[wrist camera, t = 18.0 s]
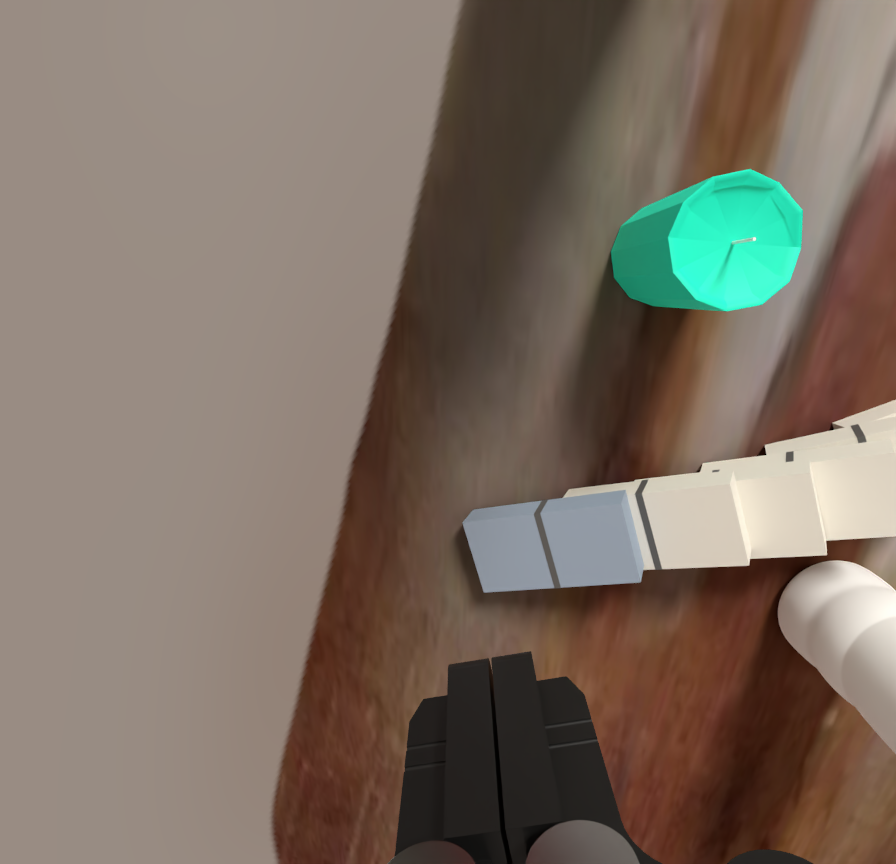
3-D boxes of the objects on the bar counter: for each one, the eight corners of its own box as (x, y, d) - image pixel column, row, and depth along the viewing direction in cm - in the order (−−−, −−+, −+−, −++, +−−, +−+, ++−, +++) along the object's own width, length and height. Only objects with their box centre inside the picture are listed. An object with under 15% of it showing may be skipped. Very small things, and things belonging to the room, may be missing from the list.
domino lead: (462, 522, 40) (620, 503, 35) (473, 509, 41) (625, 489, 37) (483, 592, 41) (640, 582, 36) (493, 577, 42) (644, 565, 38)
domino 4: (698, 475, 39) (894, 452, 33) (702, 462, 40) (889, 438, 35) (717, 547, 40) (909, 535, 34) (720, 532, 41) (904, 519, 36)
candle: (668, 325, 39) (762, 340, 27) (590, 269, 38) (652, 259, 26) (731, 241, 37) (858, 218, 26) (651, 181, 37) (745, 130, 25)
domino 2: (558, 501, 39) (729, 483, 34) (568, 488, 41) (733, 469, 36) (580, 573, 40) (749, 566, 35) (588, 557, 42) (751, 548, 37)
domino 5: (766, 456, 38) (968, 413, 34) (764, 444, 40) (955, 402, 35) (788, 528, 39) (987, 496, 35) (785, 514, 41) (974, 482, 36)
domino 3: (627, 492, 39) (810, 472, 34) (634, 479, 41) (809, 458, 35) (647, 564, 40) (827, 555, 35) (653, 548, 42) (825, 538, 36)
